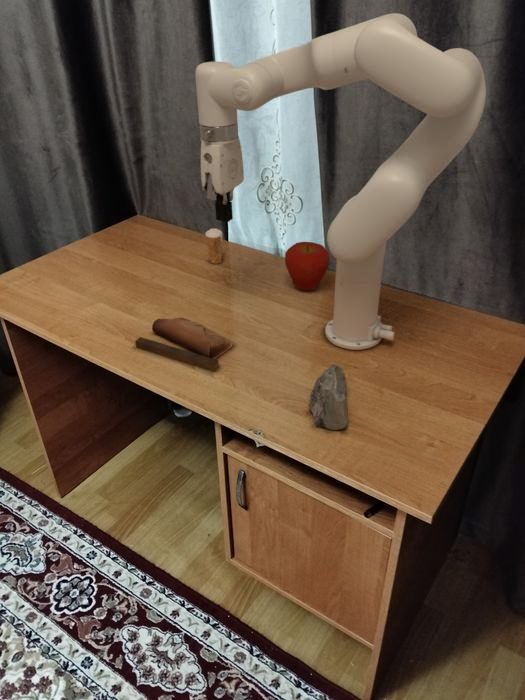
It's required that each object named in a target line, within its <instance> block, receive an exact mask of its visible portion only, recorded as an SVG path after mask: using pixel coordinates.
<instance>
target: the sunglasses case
mask: <svg viewBox="0 0 525 700" xmlns="http://www.w3.org/2000/svg"><path fill="white" fill-rule="evenodd" d="M151 331H152V332H153V333H155V334H157V335H159V336H162V337H164V338H167V339H168V340H172V341H174V342H176V343H178V344H179V345H182V346H184V347H186V348H188V349H190V350H192V351H193V352H195V353H197V354H199V355H202V356H206V357H209V358H213V359H216V360H218V358H220V357H221V356H223V355H224V354H225V353H227V352H228V351H229V350H230V349H232V347H234V343H233V342H232V340H230V339H228V338H227V337H225V336H223V335H221V334H219V333H217V332H215V331H213V330H211V329H210V328H207V327H206V326H205V325H203V324H202V323H199V322H197V321H194V320H193V321H192V320H190V319H187V318H185V317H176V318H175V317H174V318H157V319H155V320H154V321H153V323H152V325H151Z"/></svg>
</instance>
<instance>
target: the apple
mask: <svg viewBox="0 0 525 700" xmlns="http://www.w3.org/2000/svg"><path fill="white" fill-rule="evenodd" d="M284 265H285V267H286V269H287V272H288V274H289V276H290V279H291V281H292V282H293V284H294V285H295V286H296V287H297V288H298V289H300V290H303V291H313V290H314V289H316V288H317V287H319V285H320V284H321V282H322V280H323V278H324V277H325V276H326V273H327V271H328V268H329V266H330V253H329V251H328V250H327V248H325V247H324V245H322V244H320V243H317V242H312V241H300V242H296V243H294V244H293V245H291V246H290V247H289V248H288V249H287V250H286V252H285V253H284Z"/></svg>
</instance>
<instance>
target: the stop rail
mask: <svg viewBox="0 0 525 700" xmlns="http://www.w3.org/2000/svg"><path fill="white" fill-rule="evenodd" d="M134 343H135V347H136V349H139V350H142V351H146V352H150V353H152V354H155V355H159V356H163V357H166V358H169V359H172V360H176V361H179V362H181V363H185V364H189V365H190V366H191V365H192V366H195V367H198V368H200V369H201V368H202V369H204V370H208V371H211V372H214V373H215V372H216V371H217V370H218V369H219V368H220V365H219V364H220V363H219V360H218V359H213V358H209V357H206V356H203V355H201V354H199V353H197V352H193V351H189V350H186V349H182V348H179V347H176V346H172V345H168V344H166V343H162V342H158V341H155V340H152V339H149V338H145V337H142V336H139V337H138V338H137V339H136V340H134Z"/></svg>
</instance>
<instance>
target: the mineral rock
mask: <svg viewBox="0 0 525 700" xmlns="http://www.w3.org/2000/svg"><path fill="white" fill-rule="evenodd" d="M347 387H348V384H347V378H346V374H345V371H344V369H343V367H342V366H341V365H337V364H331V365H330V366H329V367H328V368H327V369H325V370H324V371H323V372H322V373H321V375H320V376H318V378H316V381H315V383H314V385H313V387H312V388H313V389H312V391H311V392H310V397H309V401H308V407H309V409H310V411H311V414H312V417H313V423H315V426H317V427H319V428H325V429H327V430H330V431H338V430H343V429H345V428H346V427H347V426H348V424H349V423H348V404H347V399H346V395H347Z"/></svg>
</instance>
